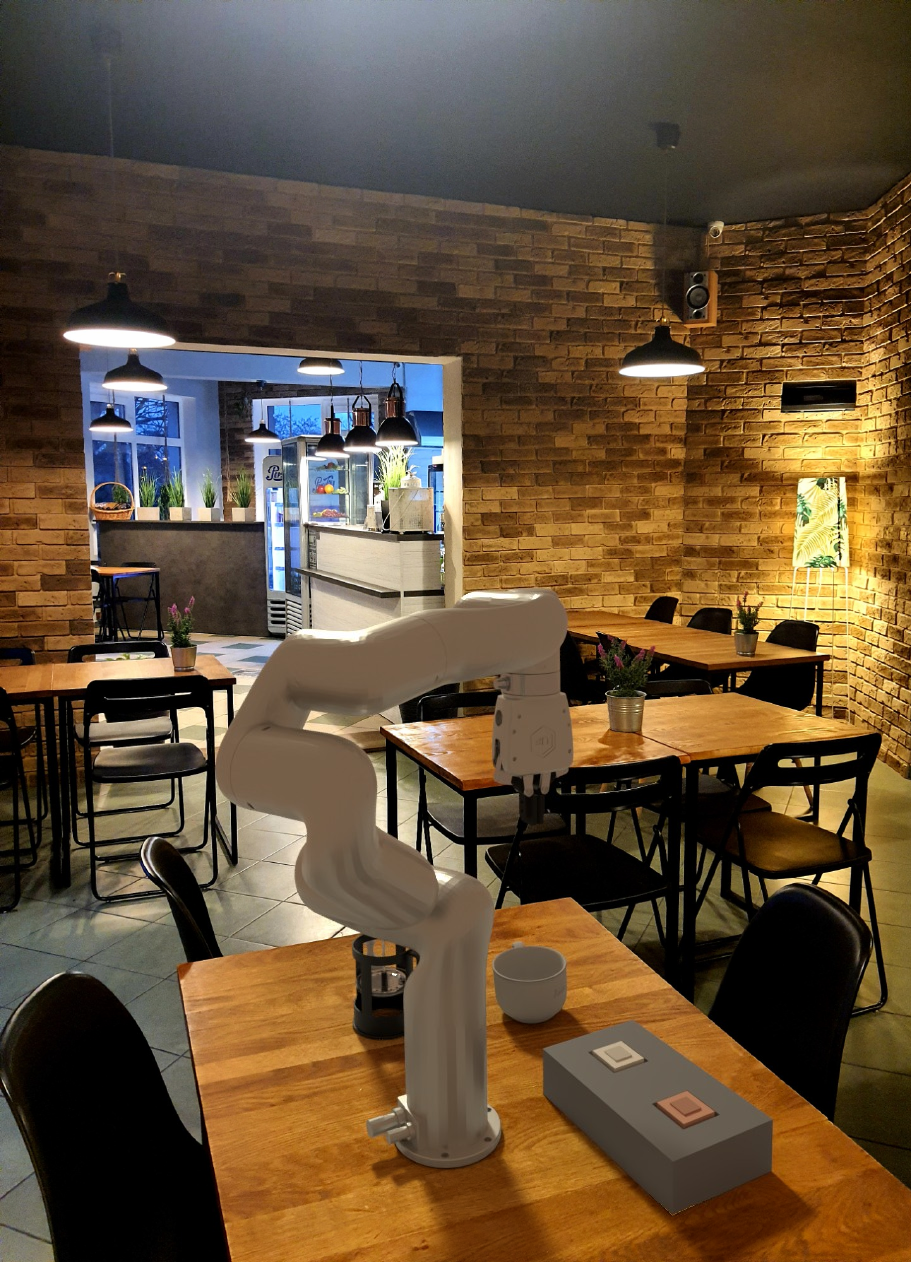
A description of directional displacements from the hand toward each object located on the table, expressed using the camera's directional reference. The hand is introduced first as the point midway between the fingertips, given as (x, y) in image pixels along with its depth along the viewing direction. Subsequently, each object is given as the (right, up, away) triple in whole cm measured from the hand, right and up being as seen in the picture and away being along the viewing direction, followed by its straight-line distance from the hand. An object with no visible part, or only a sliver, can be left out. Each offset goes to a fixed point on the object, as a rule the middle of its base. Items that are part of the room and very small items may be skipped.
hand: (532, 822), depth 123 cm
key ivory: (+10, -30, -8) cm, 32 cm away
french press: (-20, -31, +11) cm, 39 cm away
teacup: (+1, -31, +15) cm, 34 cm away
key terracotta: (+15, -31, -19) cm, 39 cm away
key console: (+13, -33, -13) cm, 38 cm away
